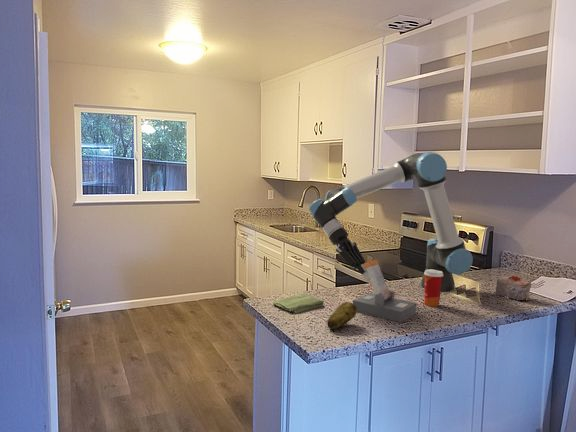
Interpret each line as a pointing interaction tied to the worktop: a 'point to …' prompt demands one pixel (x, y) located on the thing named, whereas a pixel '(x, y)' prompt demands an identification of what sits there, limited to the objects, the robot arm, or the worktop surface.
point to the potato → (342, 315)
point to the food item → (513, 287)
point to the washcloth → (299, 303)
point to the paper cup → (432, 287)
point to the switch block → (385, 307)
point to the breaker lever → (377, 279)
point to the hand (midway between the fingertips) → (369, 279)
